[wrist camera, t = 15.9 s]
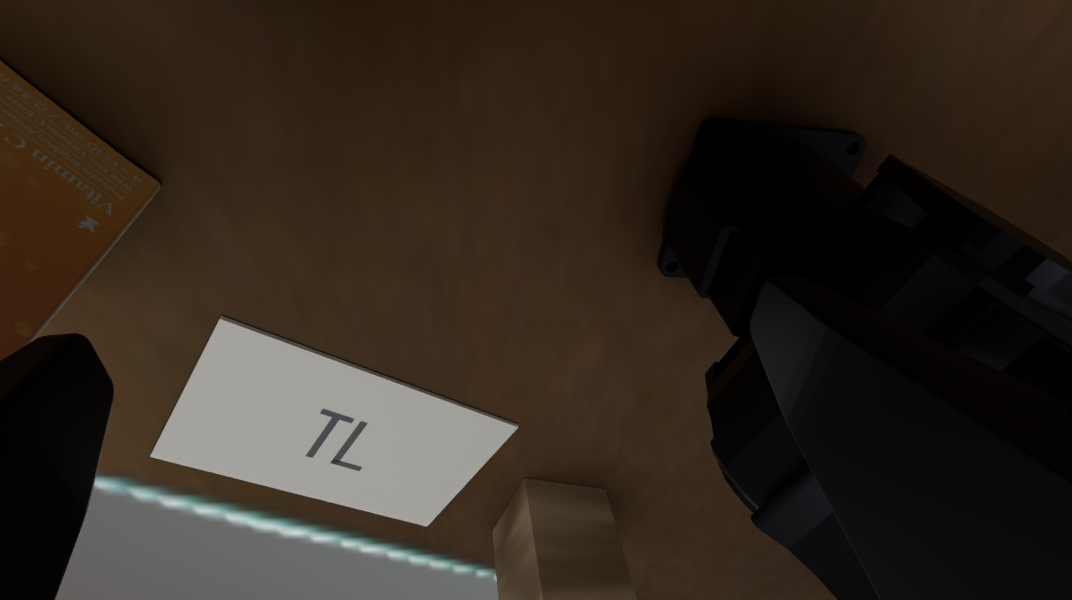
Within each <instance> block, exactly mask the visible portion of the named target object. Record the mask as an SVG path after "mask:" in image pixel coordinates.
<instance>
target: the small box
mask: <svg viewBox="0 0 1072 600" xmlns="http://www.w3.org/2000/svg"><path fill="white" fill-rule="evenodd" d="M160 188H161V186H160V183H159V182H158V181H157V180H155V179H154V178H152V177H151V176H150V175H148V174H147V173H145V172H144V171H143V170H141V169H140V168H138V167H137V166H135V165H134V164H133V163H131V162H130V161H128V160H127V159H126V158H125V157H123V156H122V155H121V154H119V153H118V152H117V151H115V150H114V149H113V148H111V147H110V146H109V145H108V144H106V143H105V142H104V141H102V140H101V139H100V138H98V137H97V136H96V135H94V134H93V133H92V132H91V131H89V130H88V129H87V128H85V127H84V126H83V125H82V124H80V123H79V122H78V121H77V120H75V119H74V118H73V117H72V116H70V115H69V114H68V113H66V112H65V111H64V110H63V109H61V108H60V107H59V106H57V105H56V104H55V103H54V102H52V101H51V100H50V99H48V98H47V97H46V96H45V95H43V94H42V93H41V92H39V91H38V90H37V89H36V88H34V87H33V86H32V85H30V84H29V83H28V82H27V81H25V80H24V79H23V78H22V77H20V76H19V75H18V74H16V73H15V72H14V71H13V70H11V69H10V68H9V67H8V66H7V65H5V64H4V63H3V62H2V61H0V361H1V360H2V359H4V358H6V357H7V356H9V355H10V354H12V353H14V352H15V351H17V350H19V349H20V348H22V347H24V346H25V345H27V344H29V343H30V342H32V341H34V340H35V339H36V338H37V336H38V335H39V334H40V332H41V331H42V330H43V329H44V328H45V326H46V325H47V324H48V323H49V322H50V320H51V319H52V318H53V317H54V316H55V315H56V313H57V312H58V311H59V310H60V309H61V308H62V306H63V305H64V304H65V303H66V302H67V300H68V299H69V298H70V297H71V296H72V295H73V293H74V292H75V291H76V290H77V289H78V288H79V287H80V285H81V284H82V283H83V282H84V281H85V280H86V278H87V277H88V276H89V275H90V274H91V273H92V271H93V270H94V269H95V268H96V267H97V266H98V264H99V263H100V262H101V261H102V259H103V258H104V257H105V256H106V255H107V253H108V252H109V251H110V250H111V249H112V247H113V246H114V245H115V244H116V242H117V241H118V240H119V239H120V237H121V236H122V235H123V234H124V232H125V231H126V230H127V229H128V227H129V226H130V225H131V224H132V222H133V221H134V220H135V219H136V218H137V216H138V215H139V214H140V213H141V212H142V210H143V209H144V208H145V207H146V205H147V204H148V203H149V202H150V201H151V200H152V198H153V197H154V196H155V195H156V193H157V192H158V191H159V189H160Z"/></svg>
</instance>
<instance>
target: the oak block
mask: <svg viewBox="0 0 1072 600" xmlns="http://www.w3.org/2000/svg"><path fill="white" fill-rule="evenodd" d="M492 533H493V543H494V554H495V565H496V575H497V586H498V596H499V600H636V596H635V593H634V589H633V585H632V582H631V578H630V575H629V571H628V568H627V564H626V560H625V557H624V553H623V550H622V546H621V543H620V539H619V535H618V532H617V528H616V525H615V521H614V517H613V514H612V510H611V507H610V503H609V500H608V496H607V492H606V489H600V488H593V487H585V486H578V485H571V484H564V483H557V482H549V481H542V480H535V479H528V478H524V480H523V481H522V483H521V485H520V486H519V488H518V489H517V491H516V493H515V494H514V496H513V498H512V499H511V501H510V503H509V504H508V506H507V508H506V509H505V511H504V513H503V514H502V516H501V518H500V519H499V521H498V523H497V524H496V526H495V528H494V529H493V531H492Z"/></svg>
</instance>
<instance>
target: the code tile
mask: <svg viewBox="0 0 1072 600" xmlns="http://www.w3.org/2000/svg"><path fill="white" fill-rule="evenodd" d="M517 428H518V424H516V423H513V422H510V421H508V420H505V419H502V418H499V417H497V416H494V415H491V414H488V413H486V412H483V411H480V410H478V409H475V408H472V407H469V406H467V405H464V404H461V403H458V402H456V401H453V400H450V399H447V398H445V397H442V396H439V395H437V394H434V393H431V392H428V391H426V390H423V389H420V388H417V387H415V386H412V385H409V384H407V383H404V382H401V381H398V380H396V379H393V378H390V377H387V376H385V375H382V374H379V373H377V372H374V371H371V370H368V369H366V368H363V367H360V366H357V365H355V364H352V363H349V362H347V361H344V360H341V359H338V358H336V357H333V356H330V355H327V354H325V353H322V352H319V351H316V350H314V349H311V348H308V347H306V346H303V345H300V344H297V343H295V342H292V341H289V340H286V339H284V338H281V337H278V336H276V335H273V334H270V333H267V332H265V331H262V330H259V329H256V328H254V327H251V326H248V325H246V324H243V323H240V322H237V321H235V320H232V319H229V318H226V317H224V316H221V317H220V319H219V321H218V323H217V325H216V327H215V329H214V331H213V333H212V335H211V337H210V339H209V341H208V343H207V345H206V347H205V349H204V351H203V353H202V355H201V357H200V359H199V361H198V363H197V365H196V367H195V369H194V371H193V373H192V374H191V376H190V378H189V380H188V382H187V384H186V386H185V388H184V390H183V392H182V394H181V396H180V398H179V400H178V402H177V404H176V406H175V408H174V410H173V412H172V414H171V416H170V418H169V420H168V422H167V424H166V426H165V428H164V430H163V432H162V434H161V436H160V438H159V440H158V442H157V444H156V446H155V448H154V450H153V452H152V454H151V456H150V457H153V458H157V459H161V460H165V461H169V462H173V463H177V464H181V465H185V466H189V467H193V468H197V469H201V470H204V471H208V472H212V473H216V474H220V475H224V476H228V477H232V478H236V479H240V480H244V481H248V482H252V483H256V484H260V485H264V486H268V487H272V488H276V489H280V490H284V491H288V492H292V493H296V494H300V495H304V496H308V497H312V498H316V499H320V500H324V501H328V502H332V503H336V504H340V505H344V506H348V507H351V508H355V509H359V510H363V511H367V512H371V513H375V514H379V515H383V516H387V517H391V518H395V519H399V520H403V521H407V522H411V523H415V524H419V525H423V526H428V525H429V524H430V523H431V522H432V521H433V520H434V518H435V517H436V516H437V515H438V514H439V513H440V512H441V511H442V510H443V509H444V508H445V506H446V505H447V504H448V503H449V502H450V501H451V500H452V499H453V498H454V497H455V496H456V495H457V493H458V492H459V491H460V490H461V489H462V488H463V487H464V486H465V485H466V484H467V483H468V482H469V480H470V479H471V478H472V477H473V476H474V475H475V474H476V473H477V472H478V471H479V470H480V469H481V467H482V466H483V465H484V464H485V463H486V462H487V461H488V460H489V459H490V458H491V457H492V455H493V454H494V453H495V452H496V451H497V450H498V449H499V448H500V447H501V446H502V445H503V444H504V442H505V441H506V440H507V439H508V438H509V437H510V436H511V435H512V434H513V433H514V432H515V431H516V429H517Z"/></svg>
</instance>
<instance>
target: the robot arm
mask: <svg viewBox="0 0 1072 600" xmlns="http://www.w3.org/2000/svg"><path fill="white" fill-rule="evenodd" d="M718 128H719V132H718V134H717V136H715V137H714V138H709V136H710V133H711V132H712V131H713V130H714V129H718ZM852 143H853V146H852V147H851V149H849V150H847V147H848V146H849V145H850V144H852ZM865 148H866V140H865V139H864V137H862V136H861V135H859V134H858V133H856V132H852V131H842V130H833V129H823V128H813V127H804V126H794V125H784V124H775V123H765V122H755V121H746V120H736V119H726V118H717V117H716V118H710V119H708V120H706V121H705V122H704V123H703V124H702V125H701V127H700V129H699V132H698V135H697V138H696V141H695V145H694V148H693V151H692V154H691V157H690V160H689V164H688V167H687V170H686V173H685V174H683V175H682V176H681V177H680V178H679V181H678V184H677V187H676V191H675V194H674V197H673V200H672V204H671V207H670V210H669V213H668V216H667V220H666V223H665V226H664V229H663V233H662V236H663V238H664V239H665V240H664V243H663V246H662V249H661V252H660V256H659V259H658V264H657V265H658V268H659V270H660V271H661V273H662V274H663V275H664V276H666V277H678V278H689V280H690V281H691V283H692V285H693V286H694V288H695V289H696V291H697V292H698V294H699V295H700V297H702V298H710V300H711V301H712V303H713V304H714V306H715V307H716V309H717V311H718V312H719V314H720V315H721V317H722V318H723V320H724V322H725V323H726V325H727V326H728V328H729V329H730V331H731V333H732V334H733V335H734V336H737V337H740V338H739V339H738V340H737V341H736V343H735V344H734V345H733V346H732V347H731V348H730V350H729V351H728V352H727V353H726V354H725V356H724V357H723V358H722V359H721V360H720V361H719V362H715V363H714V364H713V365H712V366H711V367H710V368H709V370H708V371H707V372H706V373H705V378H706V385H707V393H708V401H707V408H708V411H709V414H710V417H711V422H712V429H713V436H714V437H713V439H712V440H711V447H712V451H713V454H714V456H715V457H716V459H717V460H718V464H719V467H720V469H721V471H722V473H723V475H724V478H725V480H726V481H727V483H728V484H729V485H730V486H731V488H732V489H733V491H734V492H735V494H736V495H737V496H738V497H739V498H740V499H741V501H742V502H743V503H744V504H745V505H746V506H747V507H748V508H749V509H750V510H751V511H752V512H753V514H752V515H751V520H752V522H753V523H754V525H755V526H756V527H758V528H759V529H760V530H761V531H763V532H764V533H766V534H767V535H768V536H770V537H771V538H773V539H774V540H775V541H777V542H778V543H780V544H781V545H782V546H784V547H785V548H786V549H788V550H789V551H790V552H791V553H792V554H793V555H794V556H795V557H797V558H798V559H799V560H800V561H801V562H802V563H803V564H804V565H805V566H806V567H807V568H808V569H809V570H810V571H812V572H813V573H814V574H815V575H816V576H817V577H818V578H819V579H820V581H821V582H822V583H823V584H824V585H825V586H826V587H827V589H828V590H829V591H830V592H831V593H832V594H833V595H834V596H835V598H836V599H837V600H1072V262H1071V261H1069V260H1068V259H1067V258H1065V257H1064V256H1063V255H1061V254H1060V253H1058V252H1057V251H1055V250H1054V249H1052V248H1050V247H1049V246H1047V245H1045V244H1044V243H1042V242H1041V241H1039V240H1037V239H1036V238H1034V237H1032V236H1031V235H1029V234H1028V233H1026V232H1024V231H1023V230H1021V229H1019V228H1018V227H1016V226H1015V225H1013V224H1011V223H1010V222H1008V221H1006V220H1005V219H1003V218H1002V217H1000V216H998V215H997V214H995V213H993V212H992V211H990V210H988V209H987V208H985V207H983V206H981V205H979V204H978V203H976V202H974V201H972V200H971V199H969V198H967V197H965V196H964V195H962V194H960V193H958V192H956V191H955V190H953V189H951V188H949V187H948V186H946V185H944V184H942V183H941V182H939V181H937V180H935V179H933V178H932V177H930V176H928V175H926V174H925V173H923V172H921V171H919V170H918V169H916V168H914V167H912V166H910V165H909V164H907V163H905V162H903V161H902V160H900V159H898V158H896V157H895V156H893V155H891V154H890V155H889V156H888V157H887V158H886V159H885V161H884V162H883V163H882V164H881V165H880V166H879V168H878V169H877V170H876V171H877V172H878V173H879V174H878V175H877V176H876V177H875V178H874V180H873V181H872V182H871V183H870V184H869V185H868V187H867V188H866V189H865V188H864V187H862V186H861V185H860V184H858V183H857V182H856V181H854V180H853V179H852V178H851V177H852V175H853V173H854V171H855V169H856V167H857V165H858V163H859V161H860V159H861V157H862V155H863V153H864V151H865ZM846 150H847V151H846ZM670 262H675V263H674V264H673V265H672V266H669V267H666V266H667V265H668V264H669V263H670ZM113 400H114V386H113V383H112V380H111V378H110V376H109V374H108V372H107V371H106V369H105V367H104V365H103V364H102V362H101V360H100V358H99V357H98V355H97V353H96V351H95V349H94V348H93V346H92V344H91V343H90V341H89V340H88V339H87V338H86V337H85V336H83V335H81V334H78V333H71V334H58V335H47V336H42V337H39V338H37V339H35V340H34V341H32V342H30V343H29V344H27V345H25V346H24V347H22V348H20V349H19V350H17V351H15V352H14V353H12V354H10V355H9V356H7V357H6V358H4V359H2V360H1V361H0V600H55V598H56V595H57V592H58V590H59V587H60V584H61V582H62V579H63V576H64V573H65V571H66V568H67V565H68V563H69V559H70V557H71V554H72V552H73V549H74V546H75V543H76V540H77V538H78V535H79V532H80V530H81V527H82V524H83V521H84V518H85V515H86V512H87V509H88V505H89V501H90V498H91V494H92V490H93V486H94V482H95V477H96V473H97V469H98V465H99V460H100V456H101V452H102V448H103V443H104V439H105V435H106V430H107V426H108V422H109V418H110V413H111V409H112V405H113Z"/></svg>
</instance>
